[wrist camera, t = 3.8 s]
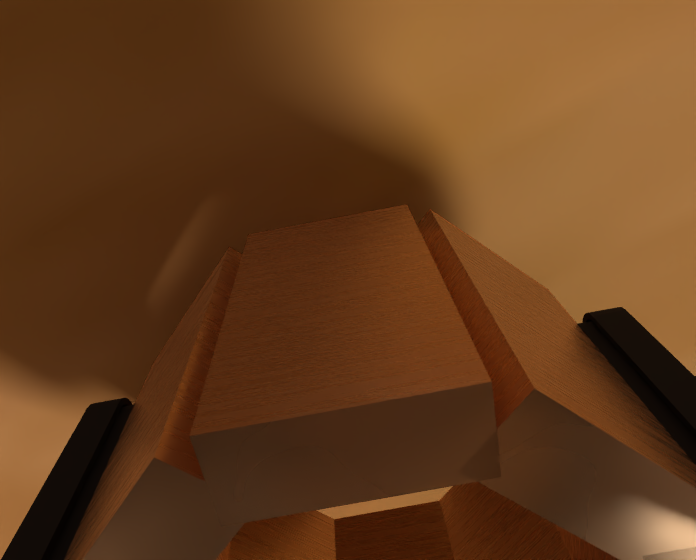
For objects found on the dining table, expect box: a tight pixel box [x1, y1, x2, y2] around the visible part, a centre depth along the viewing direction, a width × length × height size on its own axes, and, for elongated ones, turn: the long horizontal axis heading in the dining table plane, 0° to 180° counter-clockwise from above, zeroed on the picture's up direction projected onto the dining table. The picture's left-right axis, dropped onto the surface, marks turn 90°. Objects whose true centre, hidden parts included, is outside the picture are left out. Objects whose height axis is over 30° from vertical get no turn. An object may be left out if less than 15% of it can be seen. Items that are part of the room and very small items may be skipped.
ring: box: [64, 204, 696, 560], centre depth 9 cm, size 7×7×5 cm
